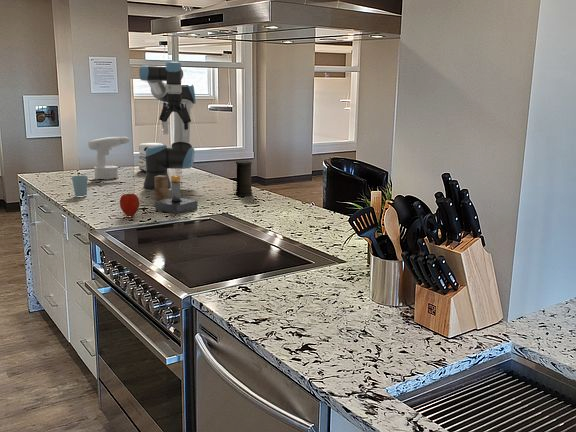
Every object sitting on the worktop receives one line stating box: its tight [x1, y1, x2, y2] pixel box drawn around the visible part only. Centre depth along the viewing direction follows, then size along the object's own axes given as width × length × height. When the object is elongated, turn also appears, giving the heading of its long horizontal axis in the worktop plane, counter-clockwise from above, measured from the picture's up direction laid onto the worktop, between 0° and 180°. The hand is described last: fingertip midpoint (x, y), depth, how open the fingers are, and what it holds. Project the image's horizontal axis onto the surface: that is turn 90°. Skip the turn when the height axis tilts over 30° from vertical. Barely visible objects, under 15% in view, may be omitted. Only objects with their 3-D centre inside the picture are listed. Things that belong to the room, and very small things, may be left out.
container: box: [235, 160, 253, 197], centre depth 305 cm, size 9×9×18 cm
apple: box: [119, 193, 140, 217], centre depth 254 cm, size 9×8×11 cm
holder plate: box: [154, 197, 199, 215], centre depth 271 cm, size 14×14×4 cm
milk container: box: [138, 142, 164, 173], centre depth 372 cm, size 17×17×18 cm
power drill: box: [87, 136, 130, 180], centre depth 345 cm, size 8×24×25 cm, turn 122°
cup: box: [71, 175, 89, 197], centre depth 294 cm, size 8×8×10 cm
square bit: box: [154, 175, 170, 201], centre depth 291 cm, size 5×5×12 cm
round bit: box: [170, 175, 181, 202], centre depth 269 cm, size 4×4×16 cm
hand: (175, 135), depth 295 cm, fingers open, 13 cm apart
